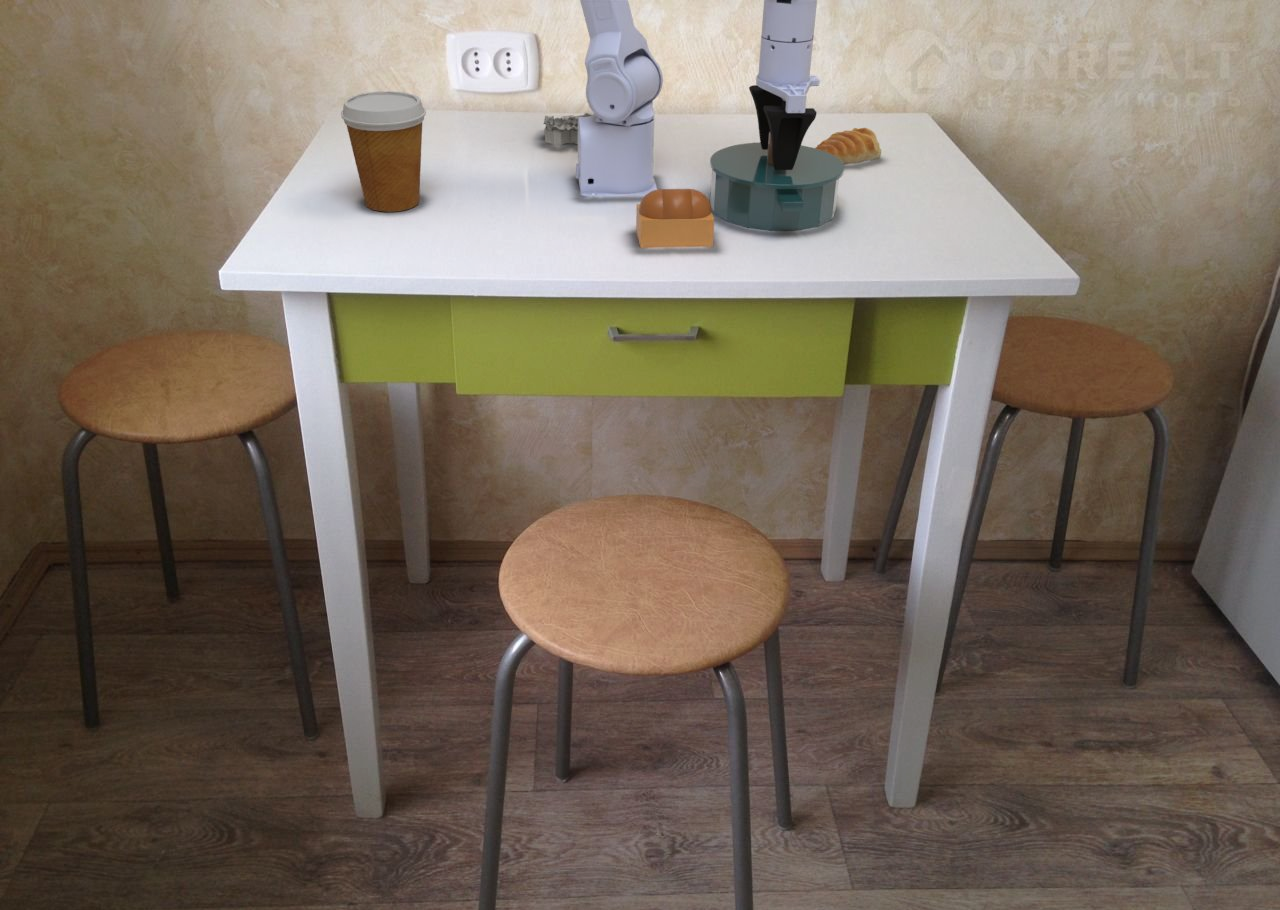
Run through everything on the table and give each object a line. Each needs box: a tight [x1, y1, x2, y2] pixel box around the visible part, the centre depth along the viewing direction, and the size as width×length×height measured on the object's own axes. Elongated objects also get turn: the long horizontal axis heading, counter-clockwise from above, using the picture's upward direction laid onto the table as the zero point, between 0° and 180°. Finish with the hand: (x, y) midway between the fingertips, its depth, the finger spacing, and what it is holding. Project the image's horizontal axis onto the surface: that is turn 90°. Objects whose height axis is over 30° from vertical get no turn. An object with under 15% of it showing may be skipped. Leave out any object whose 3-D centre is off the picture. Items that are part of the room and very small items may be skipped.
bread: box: [635, 188, 715, 249], centre depth 125 cm, size 8×5×6 cm, turn 96°
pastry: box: [814, 127, 882, 165], centre depth 152 cm, size 9×7×4 cm
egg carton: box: [543, 112, 595, 147], centre depth 156 cm, size 11×8×4 cm
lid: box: [709, 131, 845, 189], centre depth 132 cm, size 16×16×5 cm
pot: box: [709, 169, 840, 232], centre depth 134 cm, size 15×20×6 cm
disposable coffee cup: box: [340, 90, 427, 213], centre depth 133 cm, size 10×10×12 cm
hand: (776, 158), depth 132 cm, fingers open, 7 cm apart
